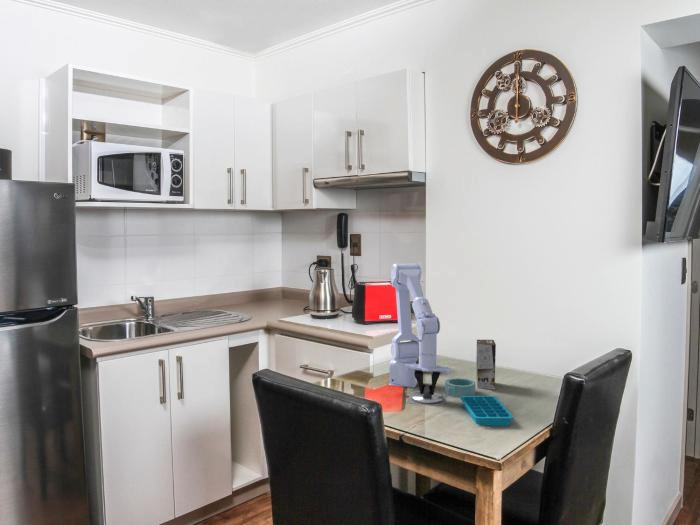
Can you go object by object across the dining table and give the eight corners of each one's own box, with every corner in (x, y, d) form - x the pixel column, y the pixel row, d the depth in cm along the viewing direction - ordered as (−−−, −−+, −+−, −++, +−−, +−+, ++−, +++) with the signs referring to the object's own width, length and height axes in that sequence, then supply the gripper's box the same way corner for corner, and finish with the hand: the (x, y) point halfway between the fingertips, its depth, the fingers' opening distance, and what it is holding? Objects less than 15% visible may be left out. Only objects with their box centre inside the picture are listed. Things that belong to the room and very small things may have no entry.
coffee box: (495, 390, 190) (496, 344, 189) (476, 388, 191) (477, 343, 190) (493, 382, 199) (494, 339, 198) (475, 381, 200) (476, 338, 199)
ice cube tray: (474, 428, 155) (474, 418, 155) (459, 405, 175) (459, 395, 175) (514, 428, 155) (515, 417, 155) (494, 404, 175) (495, 395, 175)
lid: (409, 402, 175) (409, 388, 175) (414, 392, 185) (414, 379, 185) (441, 405, 173) (441, 390, 172) (444, 395, 183) (444, 381, 182)
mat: (406, 404, 175) (406, 402, 175) (412, 393, 186) (412, 392, 186) (443, 407, 172) (443, 406, 172) (447, 396, 183) (447, 395, 183)
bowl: (444, 396, 183) (444, 385, 182) (447, 388, 192) (447, 377, 192) (474, 399, 180) (474, 387, 180) (475, 390, 189) (476, 379, 189)
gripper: (403, 354, 176) (403, 395, 177) (448, 357, 172) (448, 399, 173) (407, 349, 183) (407, 389, 184) (450, 352, 179) (450, 392, 180)
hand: (427, 393), depth 179 cm, fingers closed on lid, 3 cm apart
